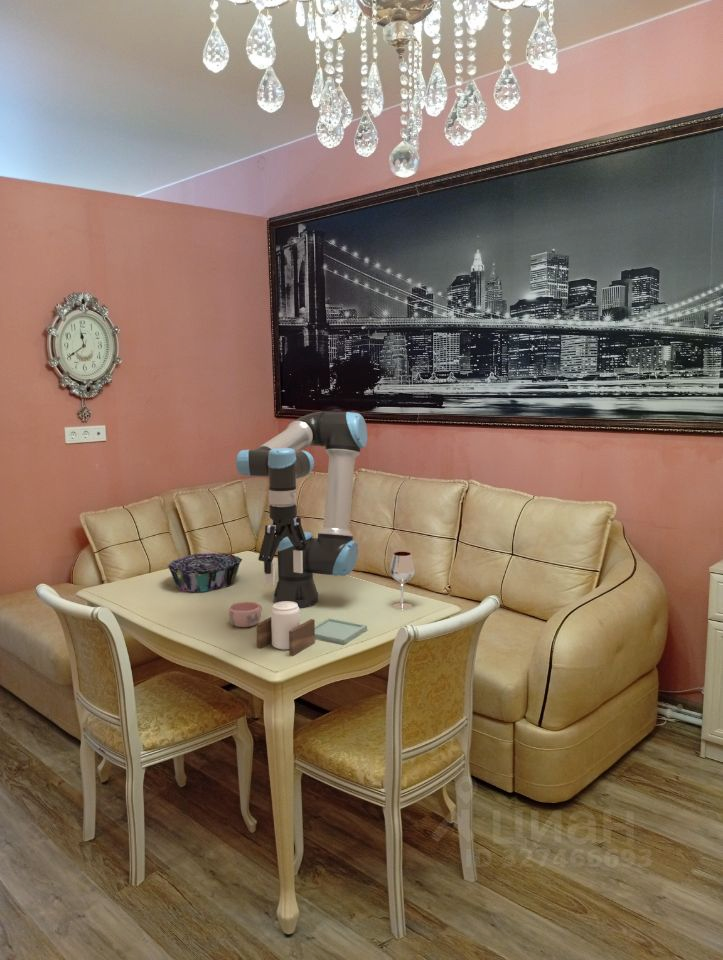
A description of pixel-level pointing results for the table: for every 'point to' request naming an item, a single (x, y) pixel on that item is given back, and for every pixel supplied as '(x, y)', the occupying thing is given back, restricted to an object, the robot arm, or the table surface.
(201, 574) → the decorative bowl
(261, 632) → the wooden boards
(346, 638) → the tray
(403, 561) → the wineglass
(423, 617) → the table surface
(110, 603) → the table surface
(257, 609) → the pink bowl
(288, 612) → the beverage can
